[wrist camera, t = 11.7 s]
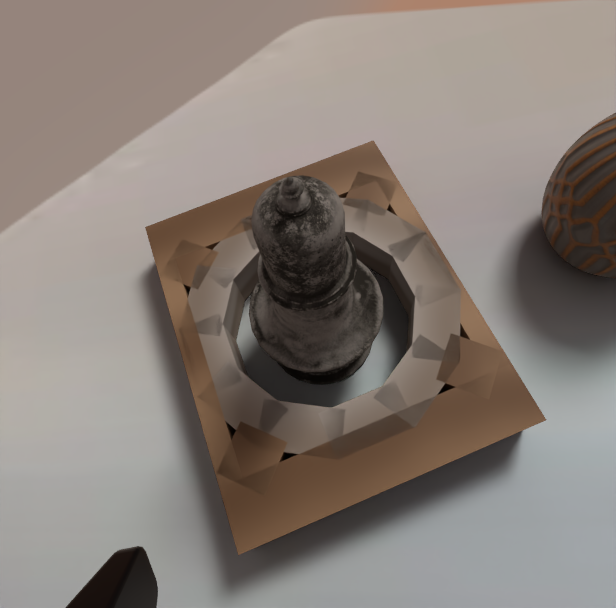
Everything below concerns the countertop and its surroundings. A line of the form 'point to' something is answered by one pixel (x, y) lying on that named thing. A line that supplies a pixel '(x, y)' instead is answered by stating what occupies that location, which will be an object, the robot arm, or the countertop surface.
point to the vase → (585, 202)
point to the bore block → (358, 411)
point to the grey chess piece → (311, 284)
